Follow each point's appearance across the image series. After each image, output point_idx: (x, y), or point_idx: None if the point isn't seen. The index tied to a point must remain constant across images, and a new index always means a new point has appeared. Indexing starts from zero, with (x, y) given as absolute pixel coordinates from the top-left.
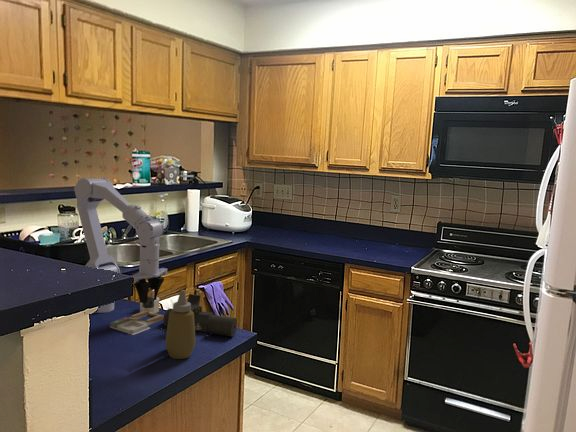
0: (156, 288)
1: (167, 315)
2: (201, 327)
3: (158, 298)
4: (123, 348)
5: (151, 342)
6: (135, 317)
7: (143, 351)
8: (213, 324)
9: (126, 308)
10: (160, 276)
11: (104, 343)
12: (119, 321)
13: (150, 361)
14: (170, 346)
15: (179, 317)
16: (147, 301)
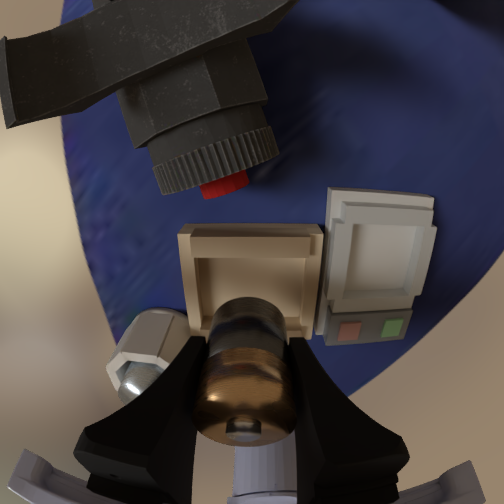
0: (180, 400)
1: (261, 138)
2: None
3: (113, 363)
4: (492, 162)
5: (418, 100)
6: (290, 325)
7: (478, 85)
8: None
9: None
10: (93, 477)
11: (484, 243)
12: (387, 324)
13: (496, 34)
14: None
15: None
16: (281, 340)
